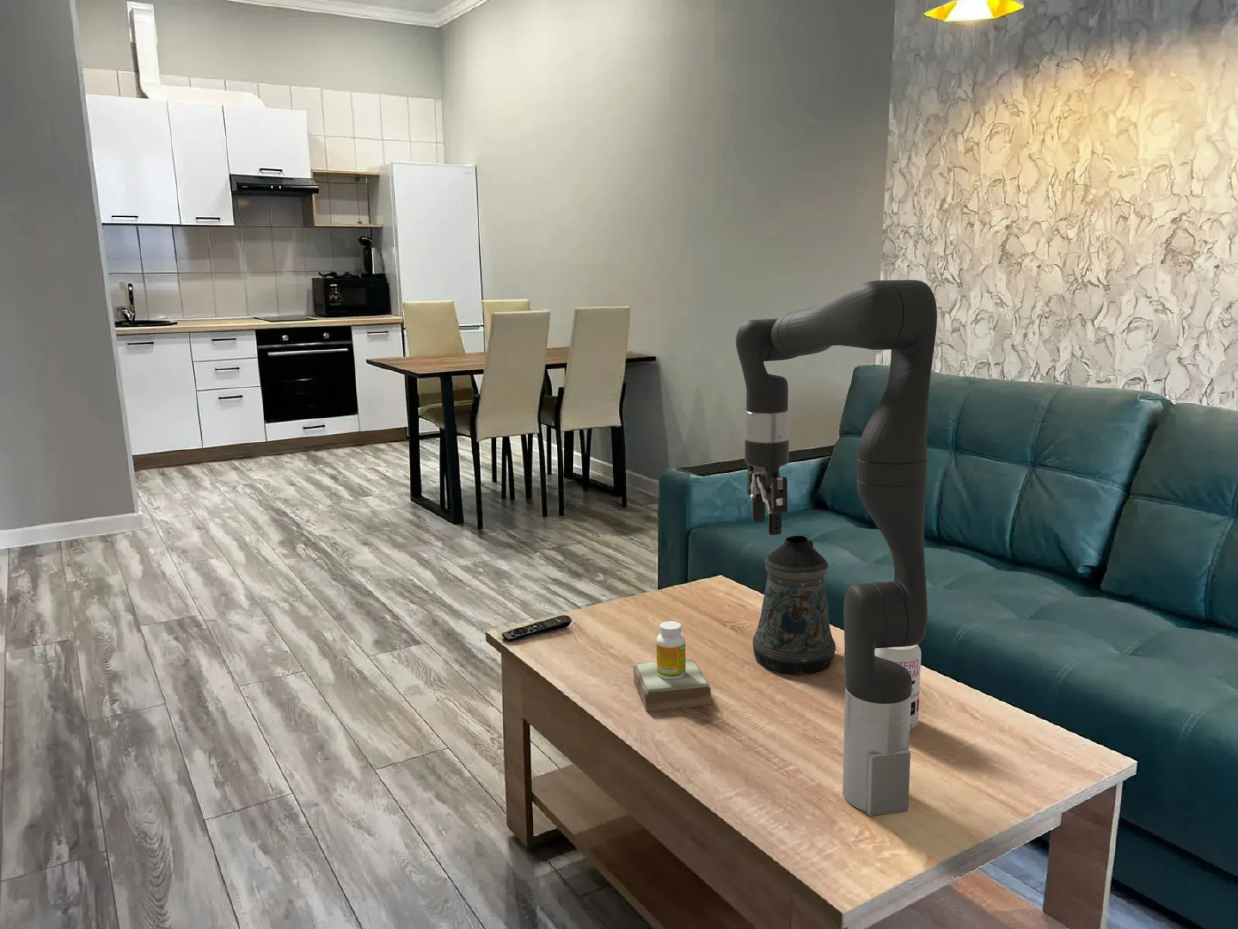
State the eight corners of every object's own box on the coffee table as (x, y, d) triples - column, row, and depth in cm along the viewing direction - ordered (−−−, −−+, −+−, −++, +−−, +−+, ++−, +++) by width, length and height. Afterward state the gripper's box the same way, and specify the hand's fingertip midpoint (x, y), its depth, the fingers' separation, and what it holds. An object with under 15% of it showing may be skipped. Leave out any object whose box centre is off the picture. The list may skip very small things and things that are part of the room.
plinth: (710, 705, 160) (710, 684, 159) (646, 712, 158) (645, 691, 157) (694, 676, 172) (694, 657, 171) (633, 682, 170) (633, 663, 169)
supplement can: (883, 706, 158) (886, 627, 155) (926, 721, 152) (930, 640, 149) (859, 722, 152) (861, 641, 149) (903, 739, 146) (907, 655, 143)
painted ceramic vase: (759, 677, 171) (759, 554, 165) (745, 637, 190) (745, 525, 184) (844, 675, 170) (847, 552, 165) (822, 635, 189) (824, 523, 184)
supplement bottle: (683, 681, 161) (683, 631, 159) (654, 679, 162) (653, 630, 160) (687, 668, 166) (686, 620, 164) (659, 666, 167) (658, 618, 165)
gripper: (803, 442, 144) (801, 537, 148) (773, 428, 158) (773, 515, 161) (759, 445, 143) (758, 540, 146) (733, 431, 157) (733, 518, 160)
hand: (766, 527), depth 154 cm, fingers open, 8 cm apart
